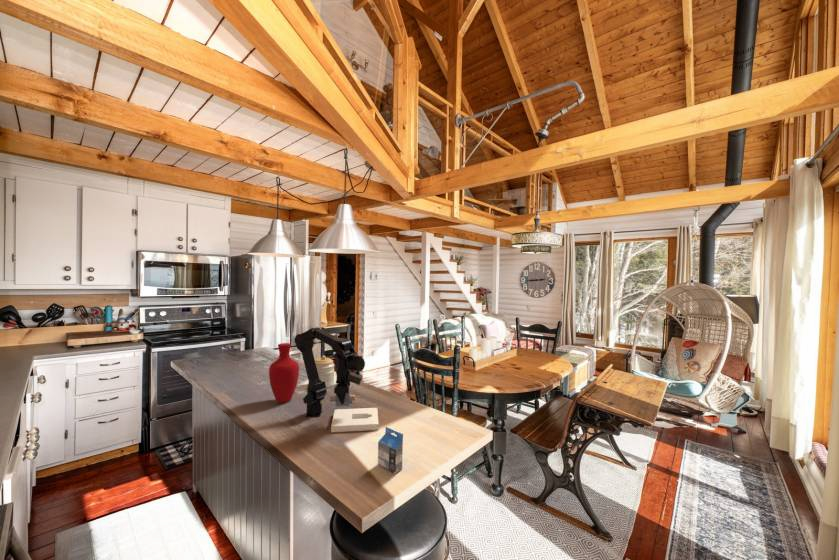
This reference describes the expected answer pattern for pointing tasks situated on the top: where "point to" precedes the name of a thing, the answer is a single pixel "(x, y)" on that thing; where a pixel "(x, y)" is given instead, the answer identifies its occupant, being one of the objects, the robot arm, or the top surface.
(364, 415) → the cream flat slab
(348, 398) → the servo
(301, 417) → the top surface
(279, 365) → the vase
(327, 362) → the jar
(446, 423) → the top surface
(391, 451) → the label tape cartridge
